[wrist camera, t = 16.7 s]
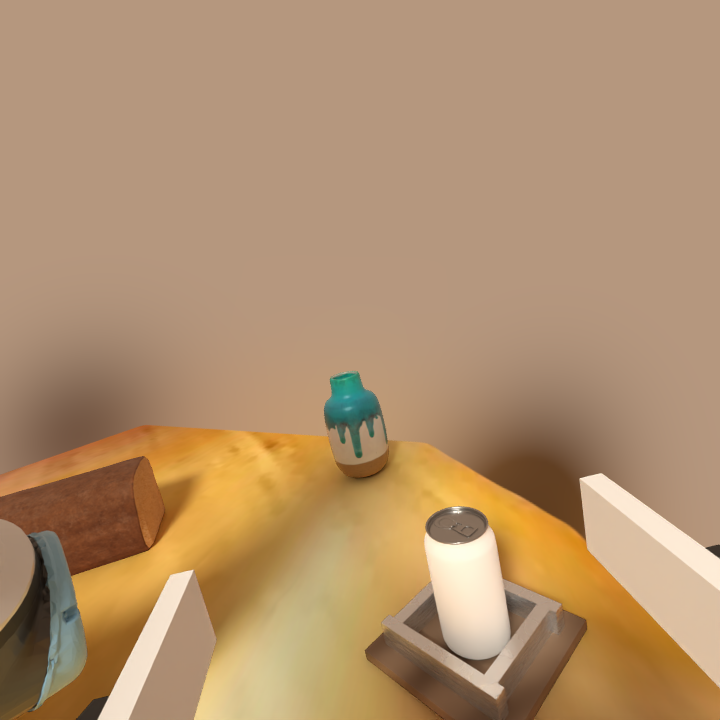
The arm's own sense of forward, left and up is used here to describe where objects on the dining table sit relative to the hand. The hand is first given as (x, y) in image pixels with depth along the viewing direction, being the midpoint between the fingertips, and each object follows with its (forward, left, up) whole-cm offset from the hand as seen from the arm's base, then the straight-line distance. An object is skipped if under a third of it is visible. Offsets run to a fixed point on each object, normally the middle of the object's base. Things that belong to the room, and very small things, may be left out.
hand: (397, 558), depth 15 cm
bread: (-81, -10, -28) cm, 86 cm away
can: (-14, +19, -27) cm, 36 cm away
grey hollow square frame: (-14, +19, -28) cm, 36 cm away
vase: (-51, +39, -28) cm, 70 cm away
